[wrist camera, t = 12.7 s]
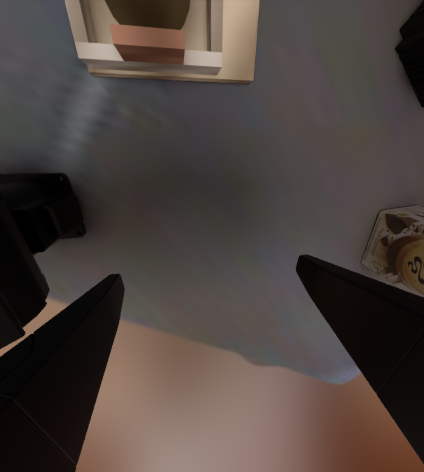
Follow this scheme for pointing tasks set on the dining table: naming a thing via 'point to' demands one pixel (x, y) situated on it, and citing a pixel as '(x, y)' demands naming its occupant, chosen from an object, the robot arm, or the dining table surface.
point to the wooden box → (169, 43)
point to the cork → (150, 13)
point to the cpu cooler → (414, 50)
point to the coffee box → (398, 248)
